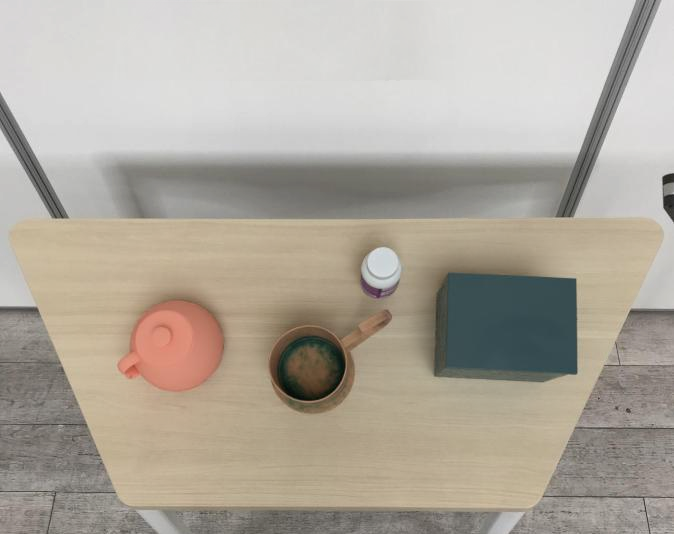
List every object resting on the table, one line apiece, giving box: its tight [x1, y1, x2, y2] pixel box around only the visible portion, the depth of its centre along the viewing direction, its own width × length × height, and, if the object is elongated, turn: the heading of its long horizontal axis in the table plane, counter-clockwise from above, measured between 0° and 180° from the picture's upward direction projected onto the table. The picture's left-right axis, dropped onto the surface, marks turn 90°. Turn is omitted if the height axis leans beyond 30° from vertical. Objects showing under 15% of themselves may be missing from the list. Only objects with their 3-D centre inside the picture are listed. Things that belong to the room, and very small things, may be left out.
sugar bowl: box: [116, 300, 224, 393], centre depth 80 cm, size 12×14×10 cm
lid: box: [445, 271, 578, 376], centre depth 74 cm, size 16×12×1 cm
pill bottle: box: [359, 246, 403, 301], centre depth 81 cm, size 5×5×10 cm
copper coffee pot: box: [267, 308, 393, 415], centre depth 79 cm, size 12×18×12 cm, turn 121°
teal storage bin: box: [433, 274, 568, 383], centre depth 80 cm, size 15×12×10 cm
